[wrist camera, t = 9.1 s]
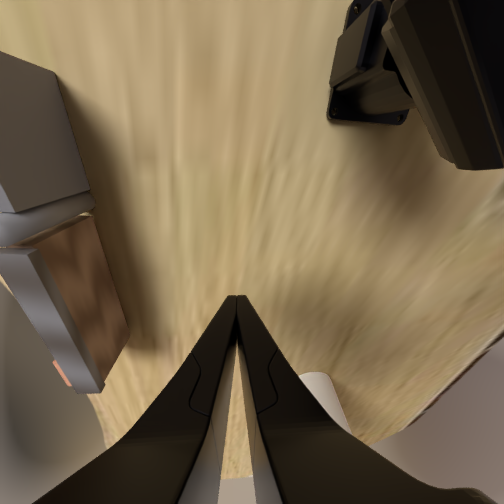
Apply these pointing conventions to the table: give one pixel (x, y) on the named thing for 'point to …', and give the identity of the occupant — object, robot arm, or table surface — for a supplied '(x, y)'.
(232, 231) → the table surface
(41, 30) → the table surface
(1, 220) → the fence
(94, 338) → the gate
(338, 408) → the cylindrical container
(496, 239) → the table surface
